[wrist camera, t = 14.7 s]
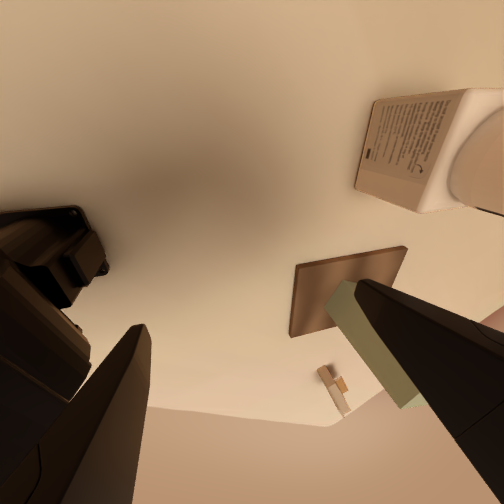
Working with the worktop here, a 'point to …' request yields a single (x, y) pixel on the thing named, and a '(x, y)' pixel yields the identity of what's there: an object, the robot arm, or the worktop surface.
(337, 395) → the architectural model
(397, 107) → the container
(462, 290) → the worktop surface
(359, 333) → the sage block
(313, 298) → the walnut board
